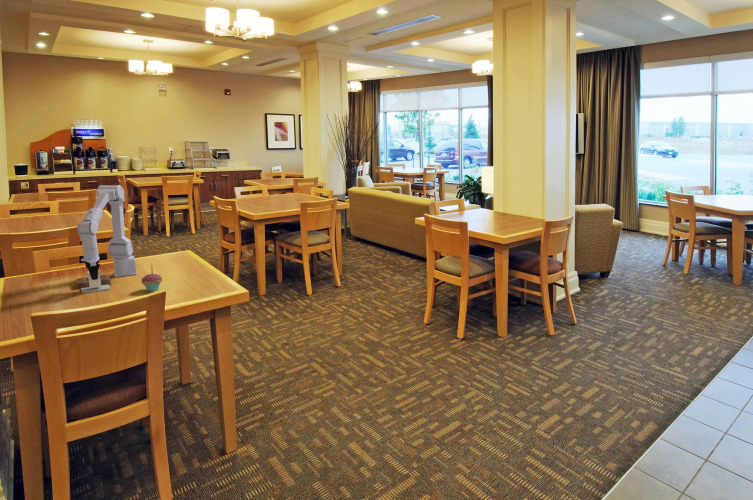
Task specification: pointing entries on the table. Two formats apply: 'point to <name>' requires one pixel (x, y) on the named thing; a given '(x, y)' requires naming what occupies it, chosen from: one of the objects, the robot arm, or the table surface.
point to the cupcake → (152, 281)
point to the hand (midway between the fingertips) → (94, 278)
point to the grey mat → (95, 289)
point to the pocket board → (85, 281)
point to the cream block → (94, 281)
